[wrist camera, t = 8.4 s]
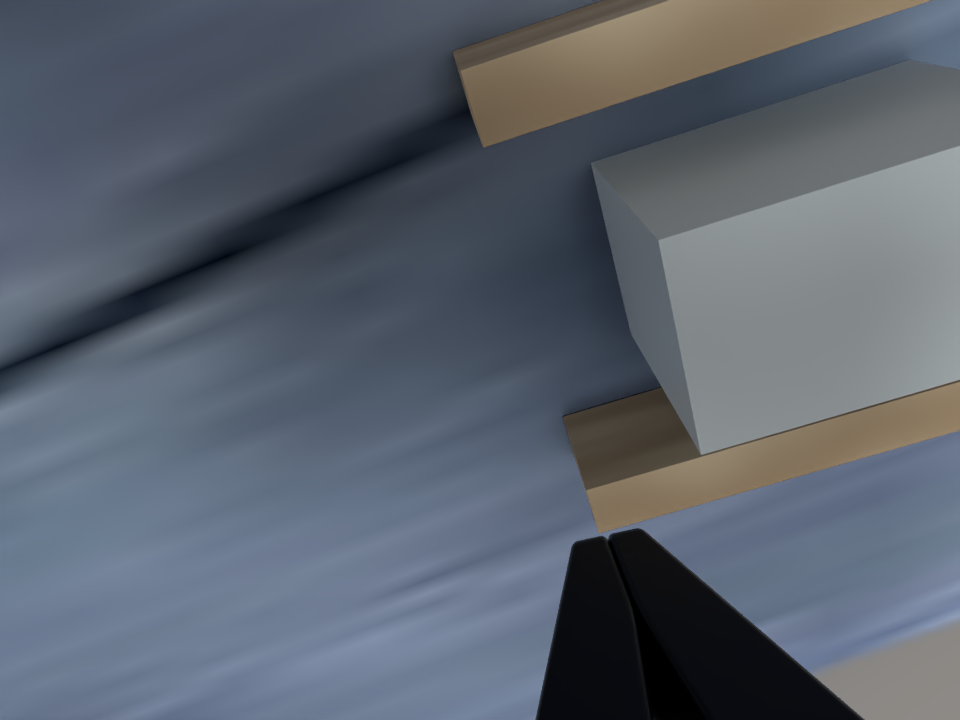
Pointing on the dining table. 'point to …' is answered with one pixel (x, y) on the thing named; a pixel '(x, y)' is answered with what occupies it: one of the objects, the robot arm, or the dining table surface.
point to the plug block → (795, 254)
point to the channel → (626, 75)
